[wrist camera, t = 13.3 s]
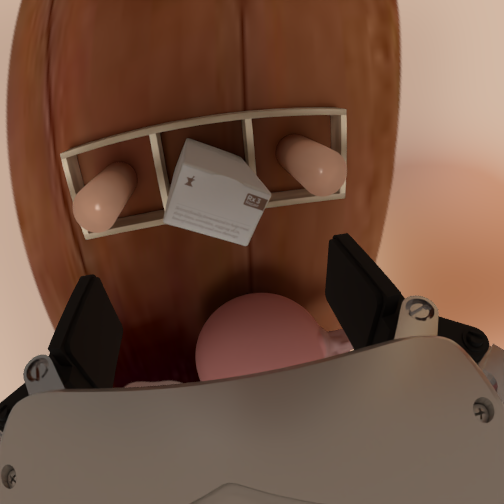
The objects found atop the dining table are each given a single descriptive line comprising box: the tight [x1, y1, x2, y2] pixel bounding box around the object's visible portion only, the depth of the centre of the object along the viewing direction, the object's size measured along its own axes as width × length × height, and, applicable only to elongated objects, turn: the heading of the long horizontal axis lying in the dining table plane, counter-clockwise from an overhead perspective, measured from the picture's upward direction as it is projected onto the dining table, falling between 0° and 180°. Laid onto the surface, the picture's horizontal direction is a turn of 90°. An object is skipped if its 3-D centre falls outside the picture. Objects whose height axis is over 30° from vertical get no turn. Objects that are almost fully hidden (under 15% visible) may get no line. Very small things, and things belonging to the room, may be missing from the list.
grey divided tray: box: [60, 107, 347, 240], centre depth 24 cm, size 10×28×8 cm, turn 95°
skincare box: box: [163, 138, 271, 246], centre depth 22 cm, size 6×4×12 cm
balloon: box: [196, 293, 354, 381], centre depth 32 cm, size 15×20×15 cm
